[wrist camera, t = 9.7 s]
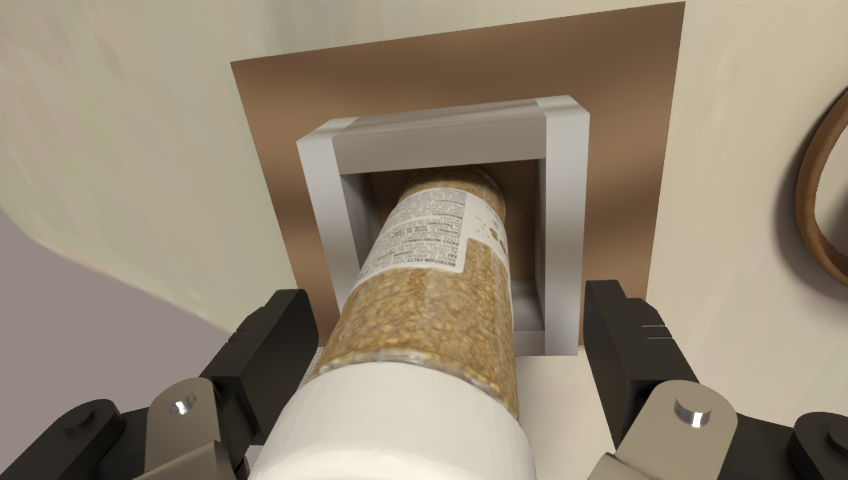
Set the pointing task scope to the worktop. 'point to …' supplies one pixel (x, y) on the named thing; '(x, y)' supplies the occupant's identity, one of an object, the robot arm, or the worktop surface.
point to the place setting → (806, 187)
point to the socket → (477, 151)
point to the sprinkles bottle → (417, 352)
